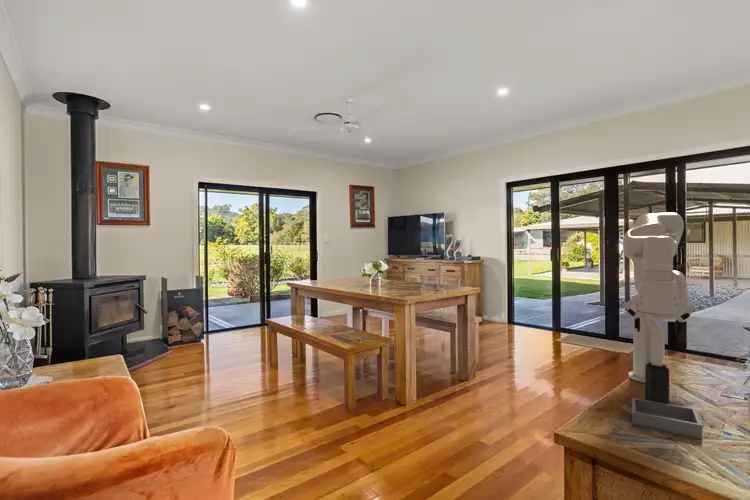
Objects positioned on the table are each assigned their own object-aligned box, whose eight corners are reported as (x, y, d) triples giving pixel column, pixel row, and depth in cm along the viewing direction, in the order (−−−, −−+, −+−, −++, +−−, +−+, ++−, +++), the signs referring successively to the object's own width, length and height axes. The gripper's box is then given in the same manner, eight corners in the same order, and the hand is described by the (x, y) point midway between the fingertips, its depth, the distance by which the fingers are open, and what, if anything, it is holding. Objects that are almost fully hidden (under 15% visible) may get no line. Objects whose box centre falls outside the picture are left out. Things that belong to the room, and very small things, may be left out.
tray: (631, 410, 120) (631, 397, 119) (695, 422, 111) (695, 408, 111) (632, 425, 109) (632, 412, 109) (702, 440, 101) (702, 425, 101)
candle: (670, 412, 118) (671, 328, 118) (651, 410, 119) (652, 328, 119) (662, 405, 123) (662, 325, 123) (643, 403, 124) (644, 324, 124)
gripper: (692, 277, 119) (691, 333, 119) (624, 274, 128) (623, 327, 128) (695, 278, 112) (695, 338, 113) (624, 276, 122) (623, 331, 122)
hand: (657, 332), depth 120 cm, fingers open, 9 cm apart
